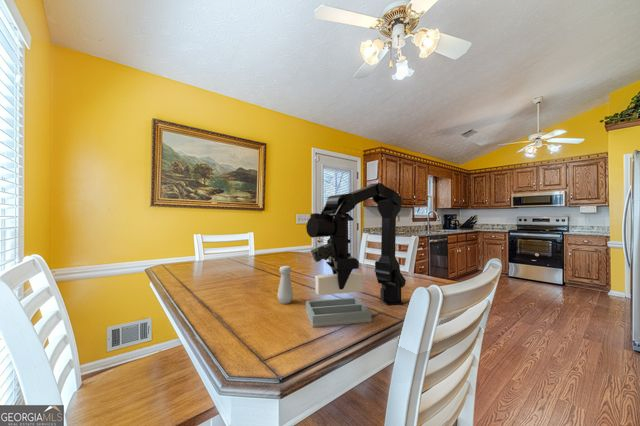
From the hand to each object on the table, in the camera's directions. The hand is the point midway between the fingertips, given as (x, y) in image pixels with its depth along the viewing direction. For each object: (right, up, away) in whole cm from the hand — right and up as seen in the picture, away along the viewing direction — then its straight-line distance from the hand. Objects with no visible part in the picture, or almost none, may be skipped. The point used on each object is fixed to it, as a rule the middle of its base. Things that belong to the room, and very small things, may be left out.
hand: (339, 287), depth 76 cm
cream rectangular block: (0, -1, 0) cm, 1 cm away
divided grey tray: (-1, -10, +3) cm, 10 cm away
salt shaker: (-19, -10, +16) cm, 27 cm away
